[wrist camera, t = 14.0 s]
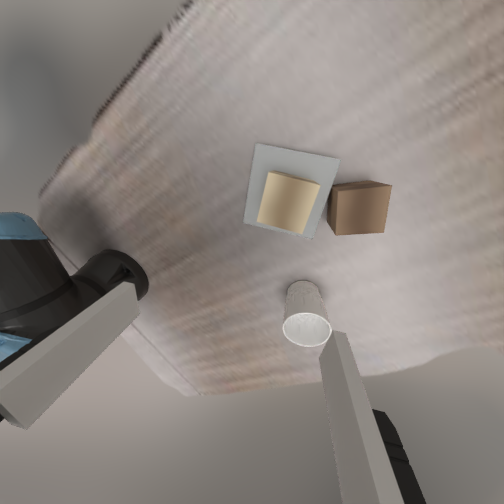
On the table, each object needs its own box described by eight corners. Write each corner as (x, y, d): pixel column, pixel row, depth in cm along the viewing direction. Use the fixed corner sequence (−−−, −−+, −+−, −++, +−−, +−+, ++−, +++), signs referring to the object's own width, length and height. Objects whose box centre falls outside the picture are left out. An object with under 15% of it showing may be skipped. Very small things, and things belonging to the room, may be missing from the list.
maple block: (263, 209, 30) (256, 221, 23) (273, 169, 27) (268, 172, 21) (299, 219, 29) (302, 234, 23) (313, 180, 26) (320, 185, 20)
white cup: (297, 271, 37) (298, 305, 29) (330, 289, 38) (342, 327, 29) (278, 296, 41) (274, 333, 32) (308, 312, 41) (313, 353, 33)
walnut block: (327, 221, 32) (335, 235, 26) (328, 185, 29) (337, 191, 23) (365, 218, 31) (383, 232, 24) (369, 180, 28) (391, 185, 22)
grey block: (247, 216, 35) (242, 223, 31) (259, 145, 29) (255, 142, 26) (310, 231, 34) (312, 239, 30) (335, 159, 28) (341, 159, 25)
